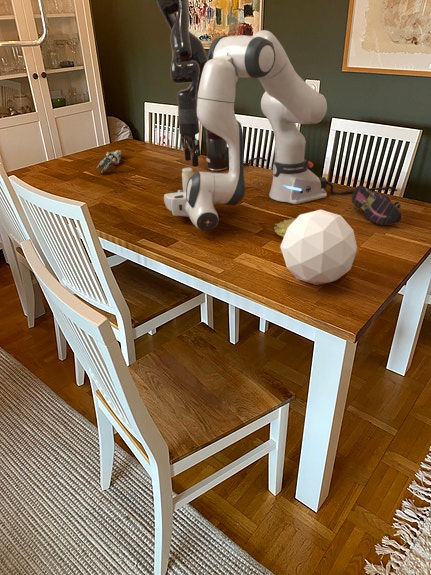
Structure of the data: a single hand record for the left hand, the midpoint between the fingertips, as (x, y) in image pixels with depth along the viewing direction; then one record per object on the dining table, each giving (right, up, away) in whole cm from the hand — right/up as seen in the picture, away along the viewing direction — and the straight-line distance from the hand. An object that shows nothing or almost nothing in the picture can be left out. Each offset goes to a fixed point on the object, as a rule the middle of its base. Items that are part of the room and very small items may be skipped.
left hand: (191, 163), depth 174 cm
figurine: (-41, +10, +41) cm, 59 cm away
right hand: (-1, -13, -10) cm, 17 cm away
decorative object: (+38, -31, -28) cm, 56 cm away
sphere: (+37, -47, -52) cm, 79 cm away
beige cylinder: (0, -19, -7) cm, 20 cm away
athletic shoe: (+67, -24, -18) cm, 73 cm away
